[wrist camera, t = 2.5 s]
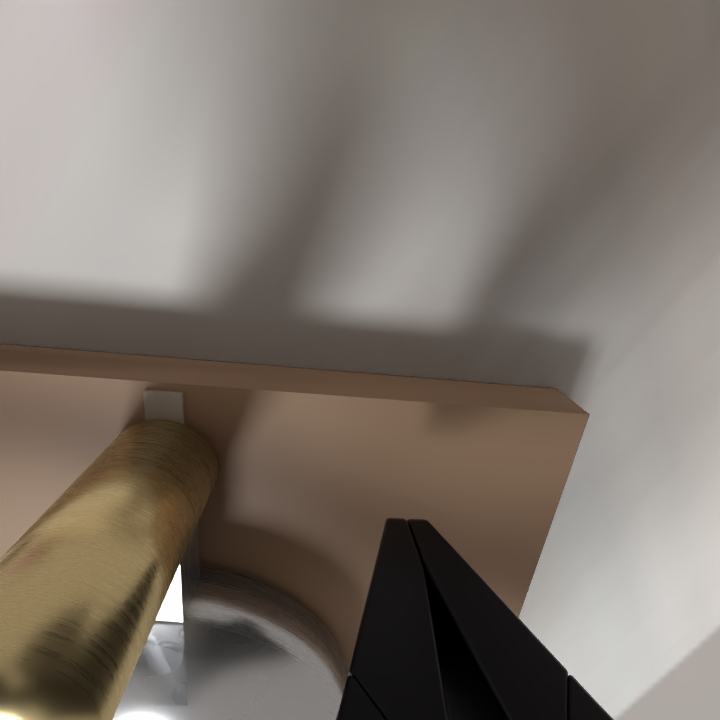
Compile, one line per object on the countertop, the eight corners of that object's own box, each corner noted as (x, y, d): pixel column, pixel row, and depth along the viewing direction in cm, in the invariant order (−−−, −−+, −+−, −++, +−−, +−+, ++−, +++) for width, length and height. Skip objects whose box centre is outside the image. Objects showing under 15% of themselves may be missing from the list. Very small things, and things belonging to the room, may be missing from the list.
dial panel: (431, 791, 18) (441, 843, 16) (-54, 804, 16) (-94, 865, 14) (557, 388, 11) (592, 416, 10) (-266, 322, 9) (-385, 344, 8)
